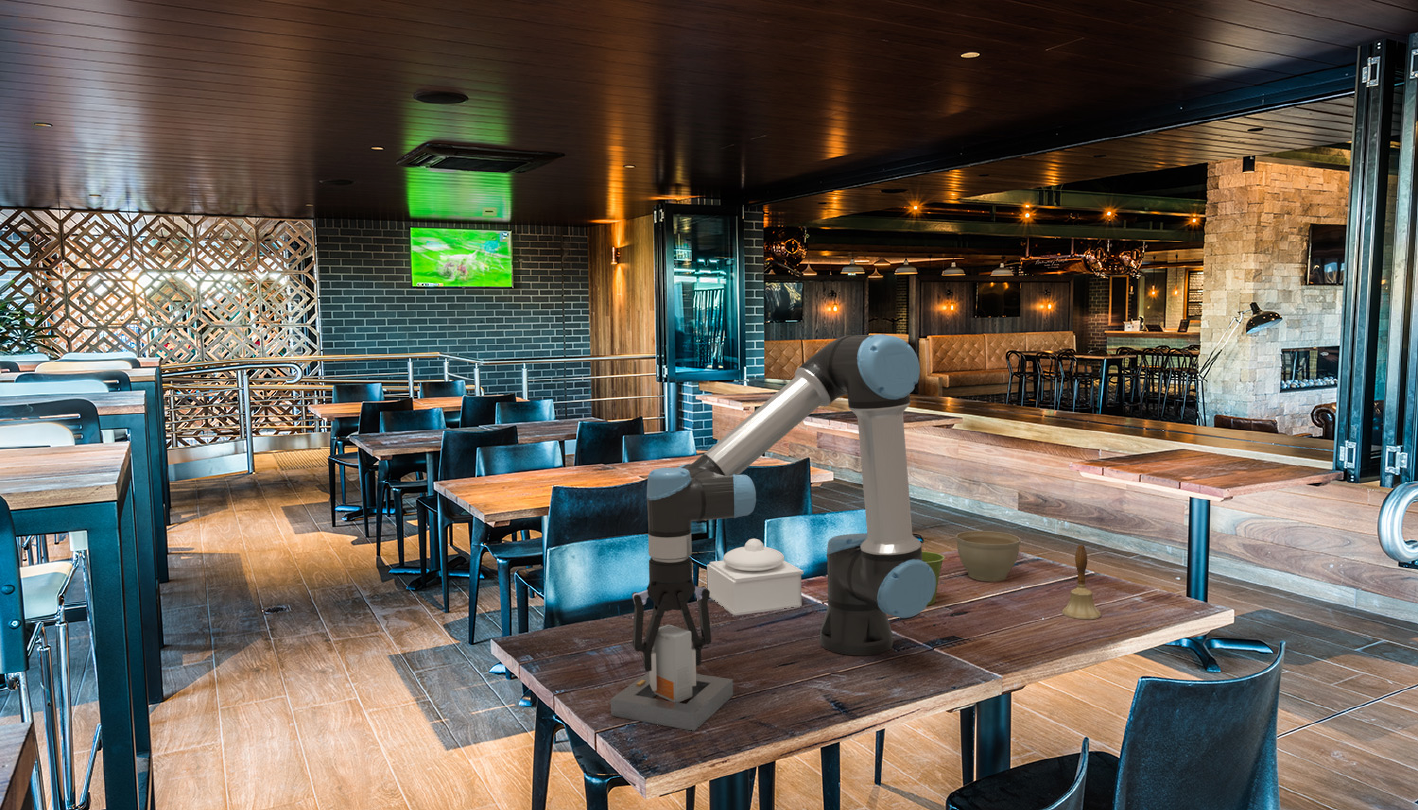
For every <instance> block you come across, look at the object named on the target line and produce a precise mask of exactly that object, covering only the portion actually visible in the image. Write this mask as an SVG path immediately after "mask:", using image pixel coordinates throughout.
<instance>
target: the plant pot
mask: <svg viewBox="0 0 1418 810" xmlns="http://www.w3.org/2000/svg"><path fill="white" fill-rule="evenodd" d="M945 558H946V557H945V555H943V554H941V553H938V552H933V551H923V550H922V561H924V562H926V563H927V564H928V565H929V566H930V567H931V568H932V570H933V572H934V574H935V578H936V587H935V592H934V595H933V597H932V599H931V601H930V602H929V603H928V604H927V605H926V607H927V606H930V605H933V604H935V602H936V599H937V591H938V585H939V578H940V573H941V569H942V565H943V561H944V560H945Z"/></svg>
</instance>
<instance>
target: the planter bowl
mask: <svg viewBox="0 0 1418 810" xmlns="http://www.w3.org/2000/svg"><path fill="white" fill-rule="evenodd" d="M955 539H956V547H957V553H958V556H959V559H960V561H961V564H962V565H963V567H964V568H965V570H966V571H967V574H968V577H969V578H971V579H973V580H976V581H980V582H989V583H991V582H992V583H993V582H1002V581H1004V580H1006V579H1007V577H1008V574H1009V572H1011V570H1012V569H1013V567H1014V565H1016V562H1017V559H1018V556H1019V551H1020V545H1021V538H1020V537H1019V536H1017V535H1014V534H1011V533H1006V532H1002V531H1001V532H1000V531H989V530H969V531H968V530H967V531H963V532H959V533H957V534H956V535H955Z"/></svg>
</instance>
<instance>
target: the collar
mask: <svg viewBox="0 0 1418 810" xmlns="http://www.w3.org/2000/svg"><path fill="white" fill-rule="evenodd" d="M656 696H657V695H655V694H654V691H652V689H651V687H650V675H649V671H647V672H646V673H645V674H643V675H641V676H640V677H639V678H637V679H636V680H635V681H633V682H632V683H631V684H629V685H628V686H627V687H625V688H624V689H622V690H621V691H619V692H618V693H617V694H615V695H614V696H613V697H612V698H610V716H611V717H615V718H621V719H626V720H627V719H628V720H633V721H638V722H642V723H650V724H654V725H659V726H665V727H671V728H675V729H676V728H677V729H682V730H687V731H691V730H692V731H691V732H695V731H697V730H698V729H699V728H700V727H701V726H702V725H704V723H705V722H706V721H707V720H709V719H710V718H711V717H712V716H713V715H714V714H715V713H716V712H717V711H719V709H720V708H721V707H722V706H723V705H724V704H726V703H727V702H728V701H729V700H730V699H732V697H733V696H734V679H732V678H725V677H718V676H713V675H706V674H700V673H696V686H692V697H691V699H690V700H688V702H687V703H682V702H672V701H669V700H667V699H659V698H655V697H656ZM698 727H699V728H698Z"/></svg>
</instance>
